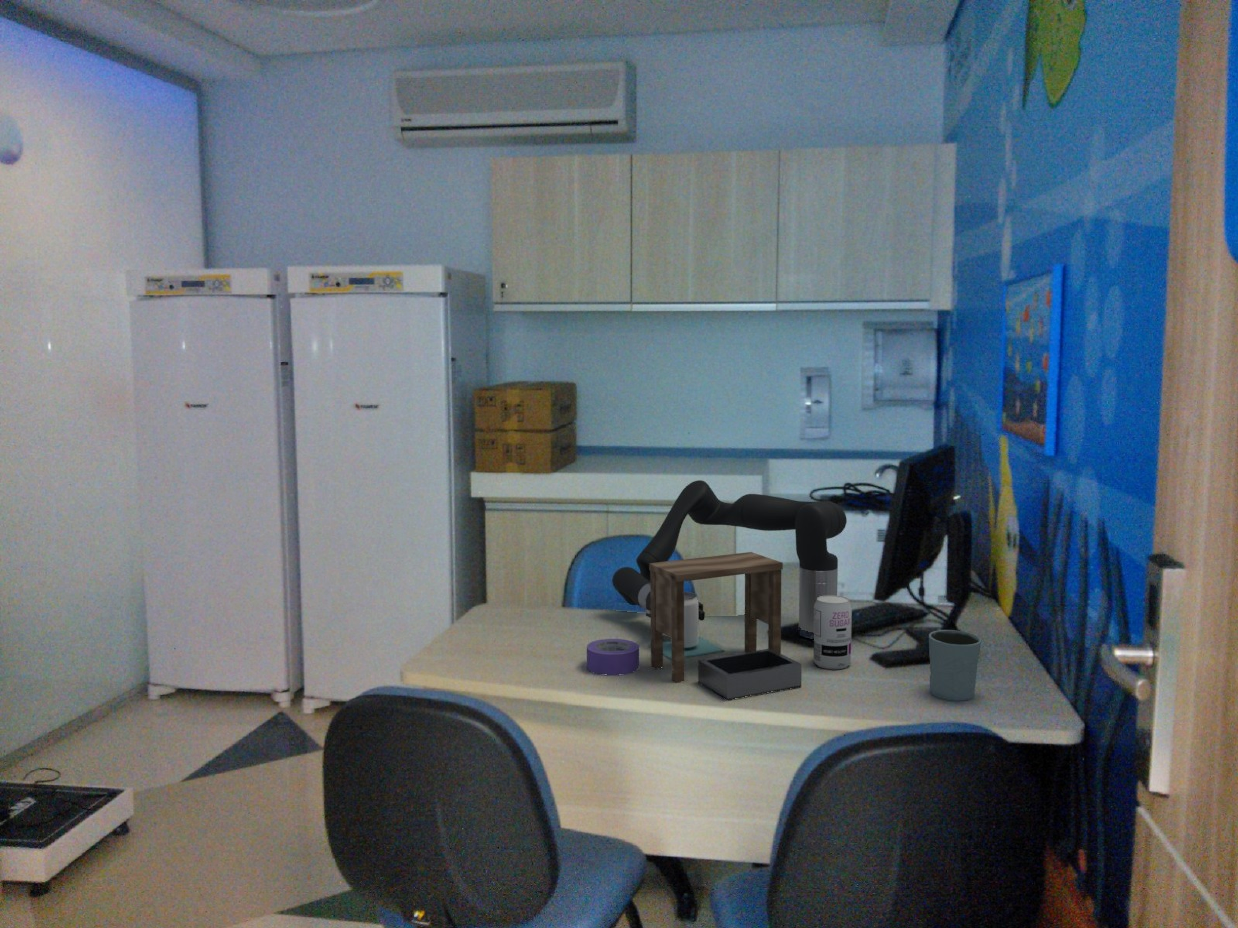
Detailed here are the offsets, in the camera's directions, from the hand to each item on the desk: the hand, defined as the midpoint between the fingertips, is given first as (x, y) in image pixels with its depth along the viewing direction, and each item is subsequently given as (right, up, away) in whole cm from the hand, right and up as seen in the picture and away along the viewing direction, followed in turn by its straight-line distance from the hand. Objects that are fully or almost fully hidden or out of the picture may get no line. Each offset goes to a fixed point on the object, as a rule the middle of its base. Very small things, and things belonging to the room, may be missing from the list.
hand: (690, 617), depth 229 cm
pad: (-1, -8, +3) cm, 8 cm away
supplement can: (+31, -9, -10) cm, 34 cm away
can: (-1, -7, +3) cm, 8 cm away
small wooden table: (+5, -9, -10) cm, 14 cm away
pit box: (+11, -11, -22) cm, 27 cm away
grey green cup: (+52, -11, -29) cm, 60 cm away
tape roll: (-18, -10, -9) cm, 23 cm away
